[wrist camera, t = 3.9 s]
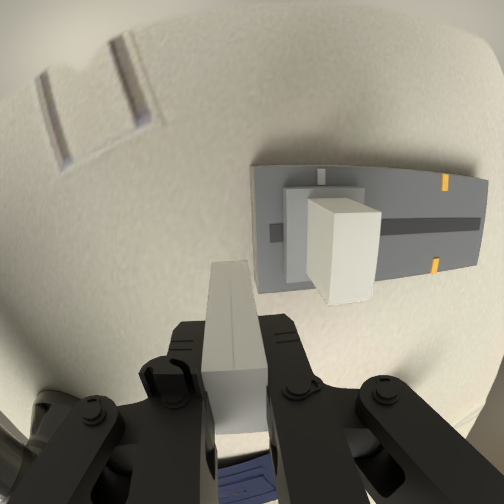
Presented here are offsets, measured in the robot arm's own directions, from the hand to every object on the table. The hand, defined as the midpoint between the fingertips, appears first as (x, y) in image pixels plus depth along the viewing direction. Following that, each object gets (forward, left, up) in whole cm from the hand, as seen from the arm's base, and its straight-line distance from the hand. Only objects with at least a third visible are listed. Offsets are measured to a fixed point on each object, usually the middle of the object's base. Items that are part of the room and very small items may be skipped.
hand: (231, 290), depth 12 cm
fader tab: (+6, +3, -9) cm, 11 cm away
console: (+13, +7, -12) cm, 19 cm away
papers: (+22, -46, -13) cm, 52 cm away
